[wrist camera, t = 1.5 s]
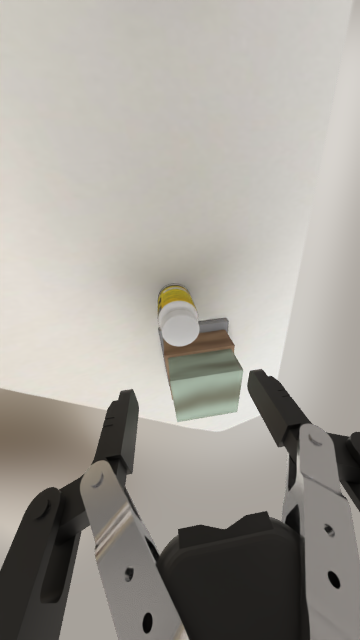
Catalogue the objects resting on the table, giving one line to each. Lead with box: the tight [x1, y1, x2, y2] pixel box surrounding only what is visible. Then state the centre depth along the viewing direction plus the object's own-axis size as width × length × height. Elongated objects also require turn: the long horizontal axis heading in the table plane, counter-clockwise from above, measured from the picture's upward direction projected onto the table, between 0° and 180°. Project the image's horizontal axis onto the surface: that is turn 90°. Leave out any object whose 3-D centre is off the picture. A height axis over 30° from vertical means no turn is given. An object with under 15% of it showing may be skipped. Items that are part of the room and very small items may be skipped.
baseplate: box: [159, 318, 228, 386], centre depth 30 cm, size 13×11×1 cm
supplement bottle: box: [158, 284, 200, 346], centre depth 21 cm, size 5×5×8 cm
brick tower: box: [163, 330, 243, 422], centre depth 26 cm, size 10×10×8 cm
